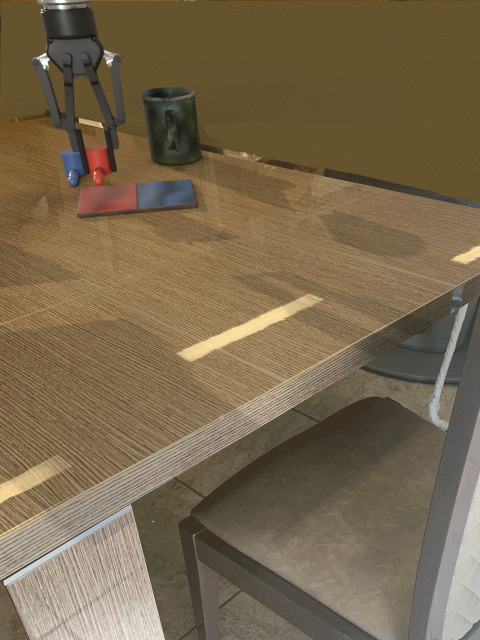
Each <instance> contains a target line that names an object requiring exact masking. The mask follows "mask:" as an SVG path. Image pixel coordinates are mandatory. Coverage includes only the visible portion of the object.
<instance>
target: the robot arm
mask: <svg viewBox="0 0 480 640" xmlns="http://www.w3.org/2000/svg"><path fill="white" fill-rule="evenodd" d="M36 1H37V3H38V4H39V5H42V8H41V9H40V11H39V14H40V18H41V23H42V26H43V31H44V34H45V35H44V36H45V39H46V47H45V52H44V53H42V54H40V55H38V56H34V57H33V58H32V59H31V61H30V63H31V66H32V67H33V69H34V71H35V73H36V74H37V75H38V78H39V79H40V83H41V87H42V90H43V93H44V96H45V101H46V104H47V107H48V111H49V114H50V117H51V120H52V123H53V127H54V128H56V129H60V130H63V131H65V132H66V133H67V135H68V139H69V144H70V147H71V148H70V149H72V151H73V152H74V153H75V152H80V157H81V161H82V165H83V170H84V174H85V175H90V173H89V168H88V164H87V160H86V155H85V151H84V148H86V145H85V142H84V138H83V133H82V129H81V128H76V111H75V108H76V107H75V85H74V84H75V83H74V82H75V81H74V79H77V78H80V77H81V78H86V79H88V81H89V84H90V85H91V88H92V91H93V93H94V96H95V98H96V101H97V103H98V107H99V109H100V111H101V113H102V116H103V119H104V121H105V124H106V126H104V127H103V135H104V139H105V144H106V145H105V146H107V149H108V154H109V159H110V164H111V169H112V173H117V171H118V166H117V161H116V155H115V151H114V150H119V148H120V141H119V136H118V131H117V128H118V127H119V126H122V125H124V124H126V112H125V105H124V97H123V89H122V83H121V75H120V74H121V73H120V70H121V69H120V68H121V63H122V55H121V53H118V52H112V51H109V50H107V49H105V48H104V46H103V44H102V43H101V41H100V39H99V38H100V37H99V34H98V28H97V24H96V18H95V13H94V9H92V7H91V6H89V3H90V2H91V1H92V0H36ZM103 59H105V62H106V66H107V67H108V69H109V68H110V74H111V82H112V89H113V97H114V103H115V110H116V115H115V116H114V115H113V113H112V110H111V107H110V105H109V102H108V99H107V97H106V94H105V91H104V89H103V86H102V84H101V81H100V78H99V75H98V73H97V71H98V69H99V67H100V64H101V62H102V60H103ZM49 61H51V63H52V64H53V65H54V66H55V67H56V68H57V69H58V70H59V71H60V73H62V74H63V84H64V85H63V87H64V108H65V119H63V117H62V114H61V111H60V107H59V104H58V100H57V96H56V93H55V90H54V89H55V88H54V86H53V82H52V79H51V76H50V73H49V70H50V68H51V67H50V63H49Z"/></svg>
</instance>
